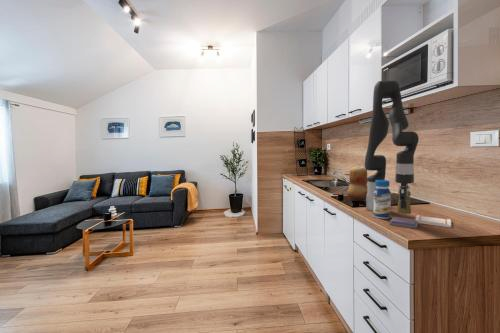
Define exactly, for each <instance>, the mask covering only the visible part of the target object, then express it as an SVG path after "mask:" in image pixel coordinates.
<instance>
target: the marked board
mask: <svg viewBox="0 0 500 333" xmlns="http://www.w3.org/2000/svg"><path fill="white" fill-rule="evenodd" d="M414 219H416V221H418V224H421V225H423V224H424V225H429V226H437V227H445V228H450V229H451V228H452V221H451V219H450V218H441V217H435V216H433V217H432V216H427V215H426V216H425V215H416V216H415V218H414Z"/></svg>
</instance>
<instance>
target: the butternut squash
mask: <svg viewBox="0 0 500 333" xmlns="http://www.w3.org/2000/svg"><path fill="white" fill-rule="evenodd" d="M348 178H349V186H348V188H347V192H346V194H347V197H348V198H349V200H351V201H353V202H357V201H360V202H359V203H361V202H363V201H366V194H367V178H368V170H366V169H365V166H362V165H360V166H358V165H357V166H352V167H351V168H350V170H349V176H348Z"/></svg>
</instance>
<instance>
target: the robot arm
mask: <svg viewBox="0 0 500 333" xmlns="http://www.w3.org/2000/svg"><path fill="white" fill-rule="evenodd" d="M372 98H373V99H372V114H371V120H370V127H369V137H368V144H367V149H366V154H365V158H364V167H365V169H366V170H367V171H372V172H373V171H376V172H375V173H374V174H372V175H370V176H367V194H366V199H365V204H366V206H365V210H368V211H371V212H374V199H373V196H374V190H375V188H376V186H375V181H376V180H386V172H387V170H386V169H387V159H386V157H385V155H384V154H381V155H380V154H379V155H377V154H376V151H377V149H378V147H379V146H380V145H381V143H382V142H383V141H384V140H385V139H386V137H387V135H388V132H389V127H390V126H391V130H392V134H391V135H392V136H391V137H392V143H393V144H394V145H395V146H396V147H405V148H404V150H402V151H401V150H400V151H398V152H397V153H396V158H395V159H396V160H395V161H396V164H395V179H394V180H395V183H397V184H400V186H398V192H399V191H400V193H399V195H400V201H401V209H402V208H404V209H406V201H407V197H408V191H410V186H409V184H413V183H414V182H415V165H414V162H415V161H414V160H415V152H416V149H417V147H418V143H419V134H418V133H417V132H416V131H412V130H410V131H404V130H406V129H407V128H409V121H408V118H407V116H406V114H405V110H404V106H403V100H402V94H401V89H400V85H399V83H398V81H397V80H392V79H391V80H379V81H377V82H376V83H375V84H374V88H373V94H372ZM384 99H386V100H387V99H391V101H392V106H391V107H390V110H389V113H388V116H387V115H386V113H385V110H384V109H383V100H384ZM375 154H376V155H375ZM406 192H407V194H406ZM399 195H398V196H399ZM402 196H404V197H405V198H402Z"/></svg>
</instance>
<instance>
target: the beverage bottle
mask: <svg viewBox="0 0 500 333" xmlns="http://www.w3.org/2000/svg"><path fill="white" fill-rule="evenodd" d="M375 186H376V188H375V190H374V196H373V199H374V211H373V212H372V213H373V214H372V216H373V217H375V218H377V219H384V220H387V219H391V202H392V197H391V193H392V192H391V190H390V189H389V187H390V180H388V179H385V180H376V181H375Z"/></svg>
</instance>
